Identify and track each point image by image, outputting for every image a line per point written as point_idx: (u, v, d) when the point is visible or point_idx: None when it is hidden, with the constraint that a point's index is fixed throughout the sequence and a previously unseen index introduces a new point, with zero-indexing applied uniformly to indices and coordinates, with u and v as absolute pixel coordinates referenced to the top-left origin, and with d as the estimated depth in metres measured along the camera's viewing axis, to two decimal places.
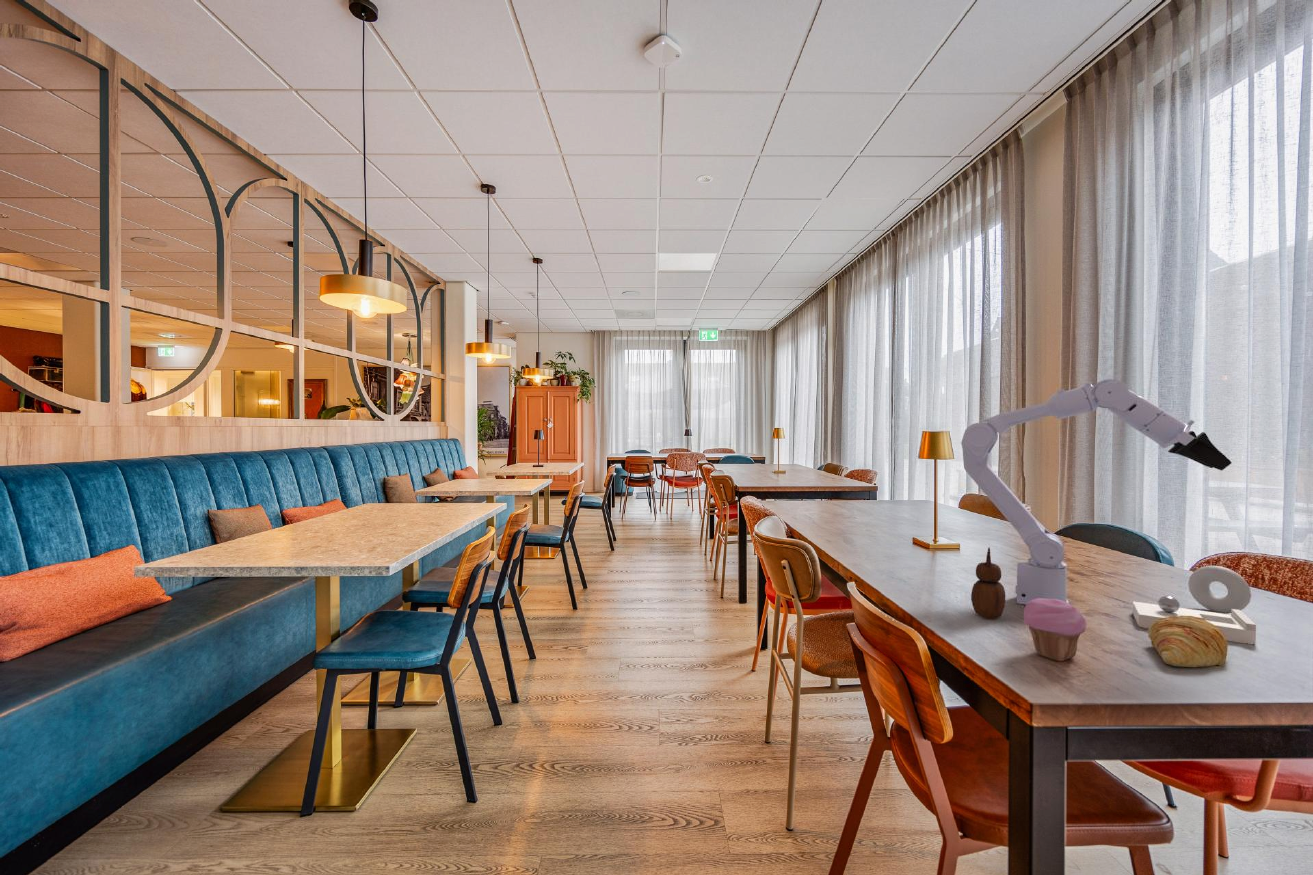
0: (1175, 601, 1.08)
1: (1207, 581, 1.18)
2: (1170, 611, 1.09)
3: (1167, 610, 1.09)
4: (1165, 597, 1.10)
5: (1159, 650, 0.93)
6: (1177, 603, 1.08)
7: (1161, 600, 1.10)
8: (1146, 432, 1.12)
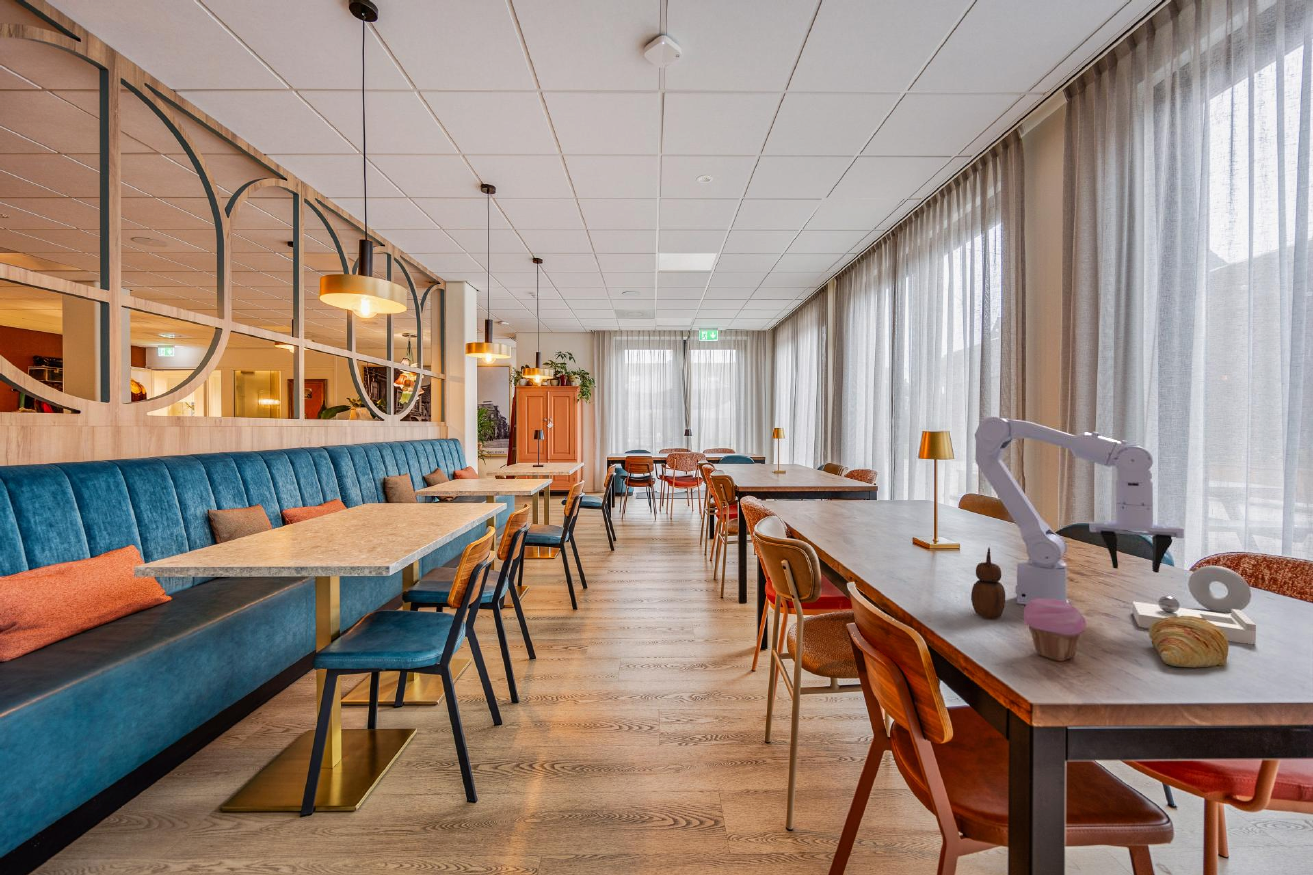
0: (1175, 601, 1.08)
1: (1207, 581, 1.18)
2: (1170, 611, 1.09)
3: (1167, 610, 1.09)
4: (1165, 597, 1.10)
5: (1159, 650, 0.93)
6: (1177, 603, 1.08)
7: (1161, 600, 1.10)
8: None
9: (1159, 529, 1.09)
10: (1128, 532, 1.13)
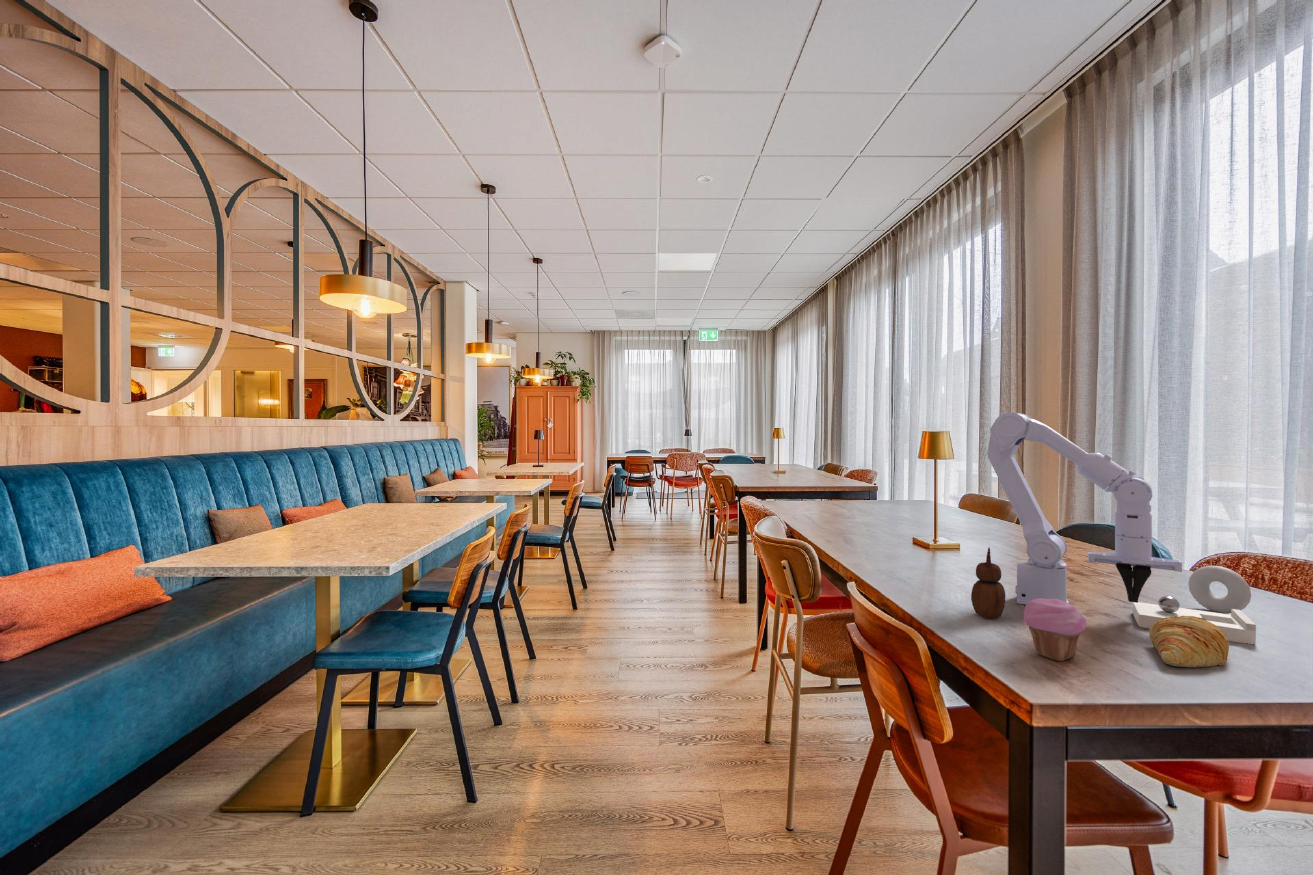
0: (1175, 601, 1.08)
1: (1207, 581, 1.18)
2: (1170, 611, 1.09)
3: (1167, 610, 1.09)
4: (1165, 597, 1.10)
5: (1159, 650, 0.93)
6: (1177, 603, 1.08)
7: (1161, 600, 1.10)
8: None
9: (1157, 562, 1.09)
10: (1126, 564, 1.13)
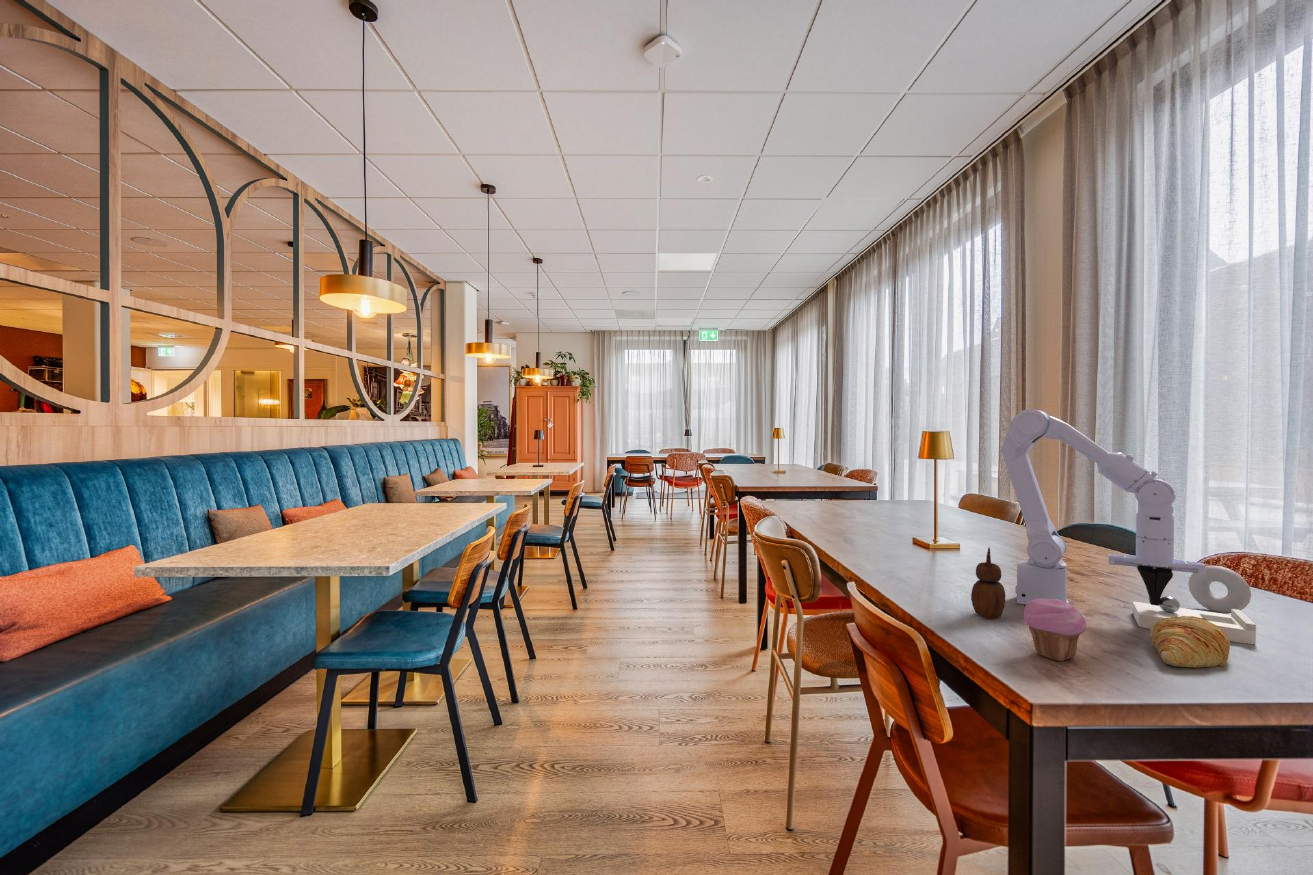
0: (1175, 601, 1.08)
1: (1207, 581, 1.18)
2: (1170, 611, 1.09)
3: (1167, 610, 1.09)
4: (1166, 597, 1.10)
5: (1159, 650, 0.93)
6: (1177, 603, 1.08)
7: (1161, 600, 1.10)
8: None
9: (1180, 565, 1.07)
10: (1148, 566, 1.11)
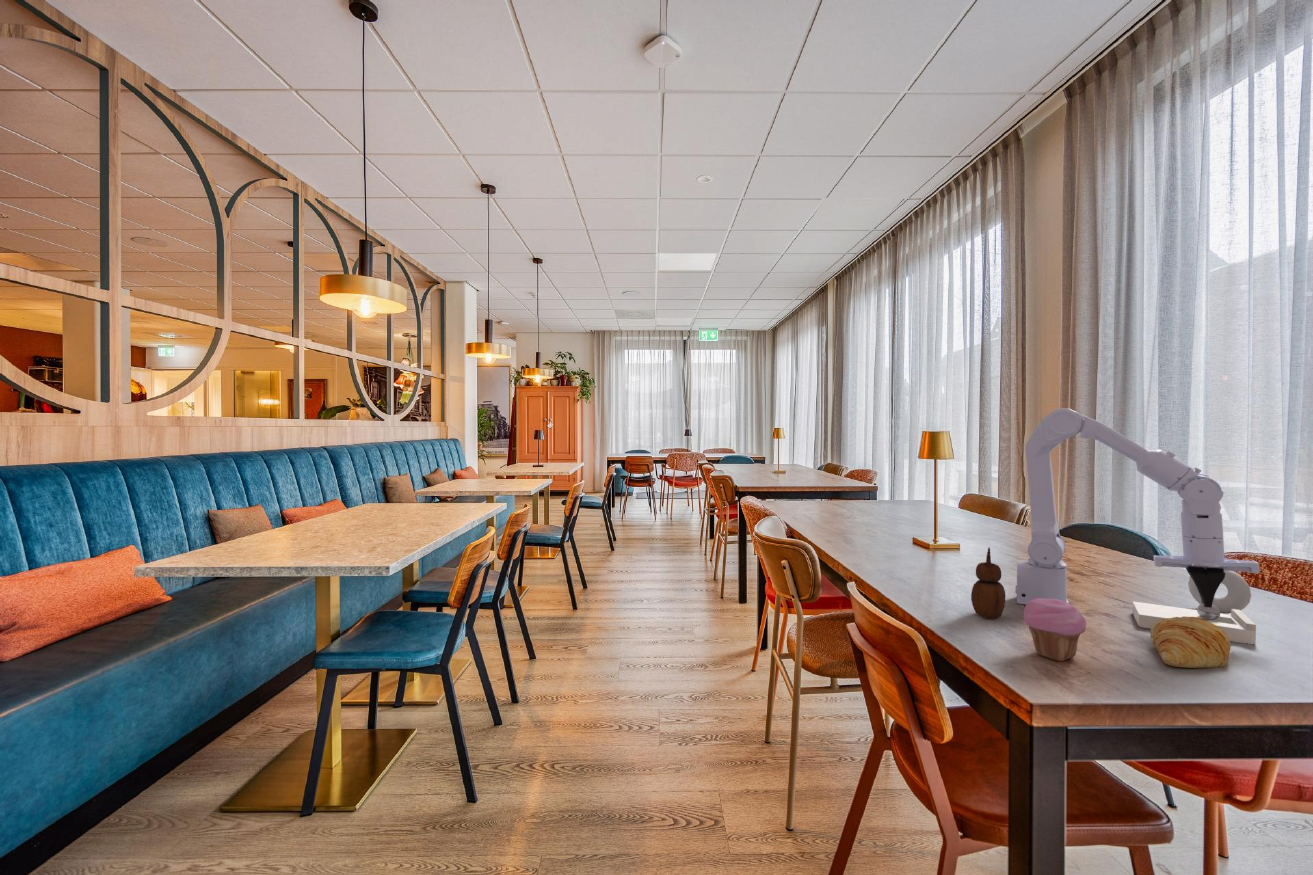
0: (1200, 613, 1.06)
1: None
2: (1213, 607, 1.05)
3: (1215, 610, 1.05)
4: (1207, 619, 1.06)
5: (1159, 650, 0.93)
6: (1200, 611, 1.06)
7: (1213, 619, 1.05)
8: None
9: (1232, 564, 1.03)
10: (1197, 566, 1.07)
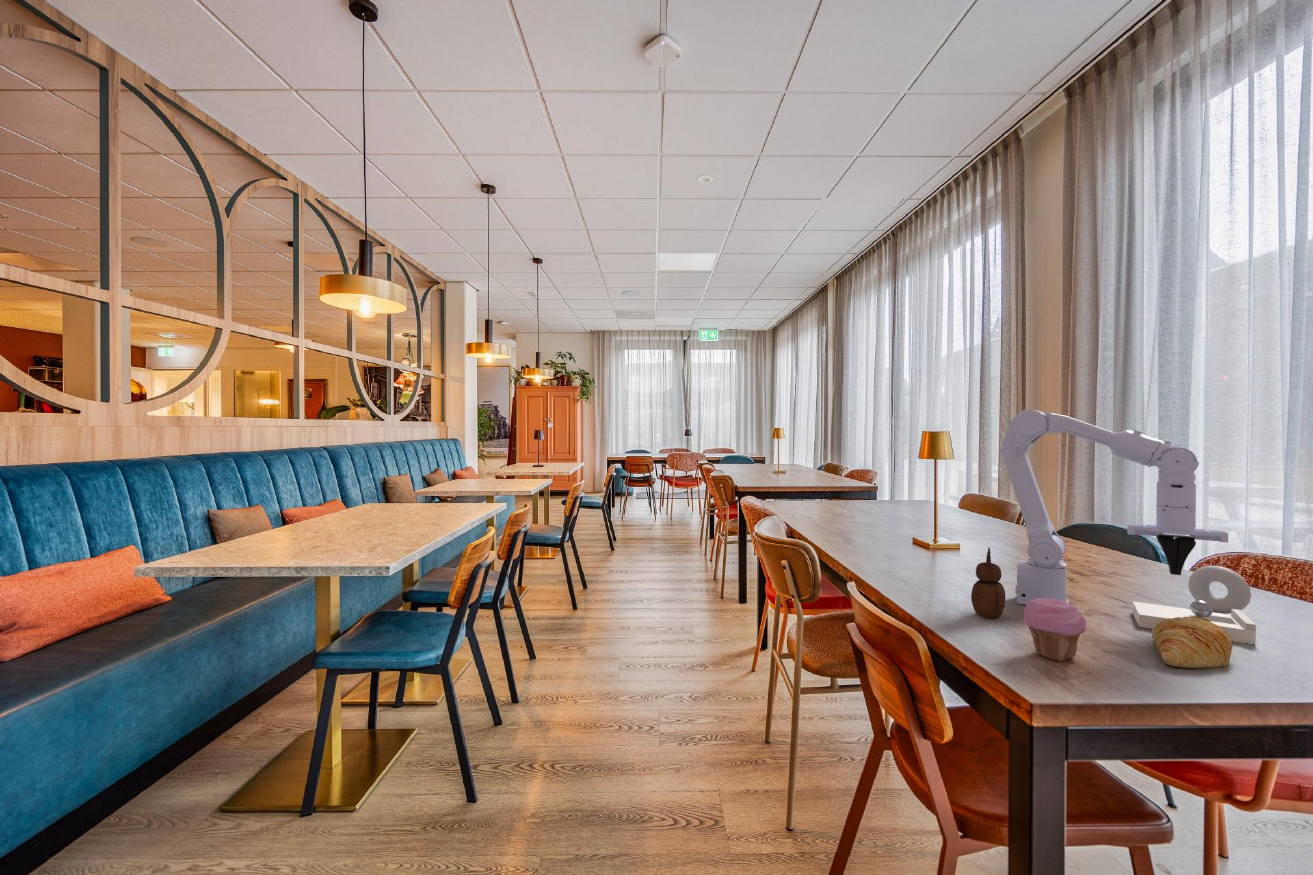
0: (1197, 614, 1.07)
1: (1207, 581, 1.18)
2: (1199, 603, 1.06)
3: (1204, 605, 1.06)
4: (1207, 616, 1.06)
5: (1160, 650, 0.93)
6: (1194, 612, 1.07)
7: (1211, 613, 1.06)
8: None
9: (1202, 533, 1.05)
10: (1169, 535, 1.09)
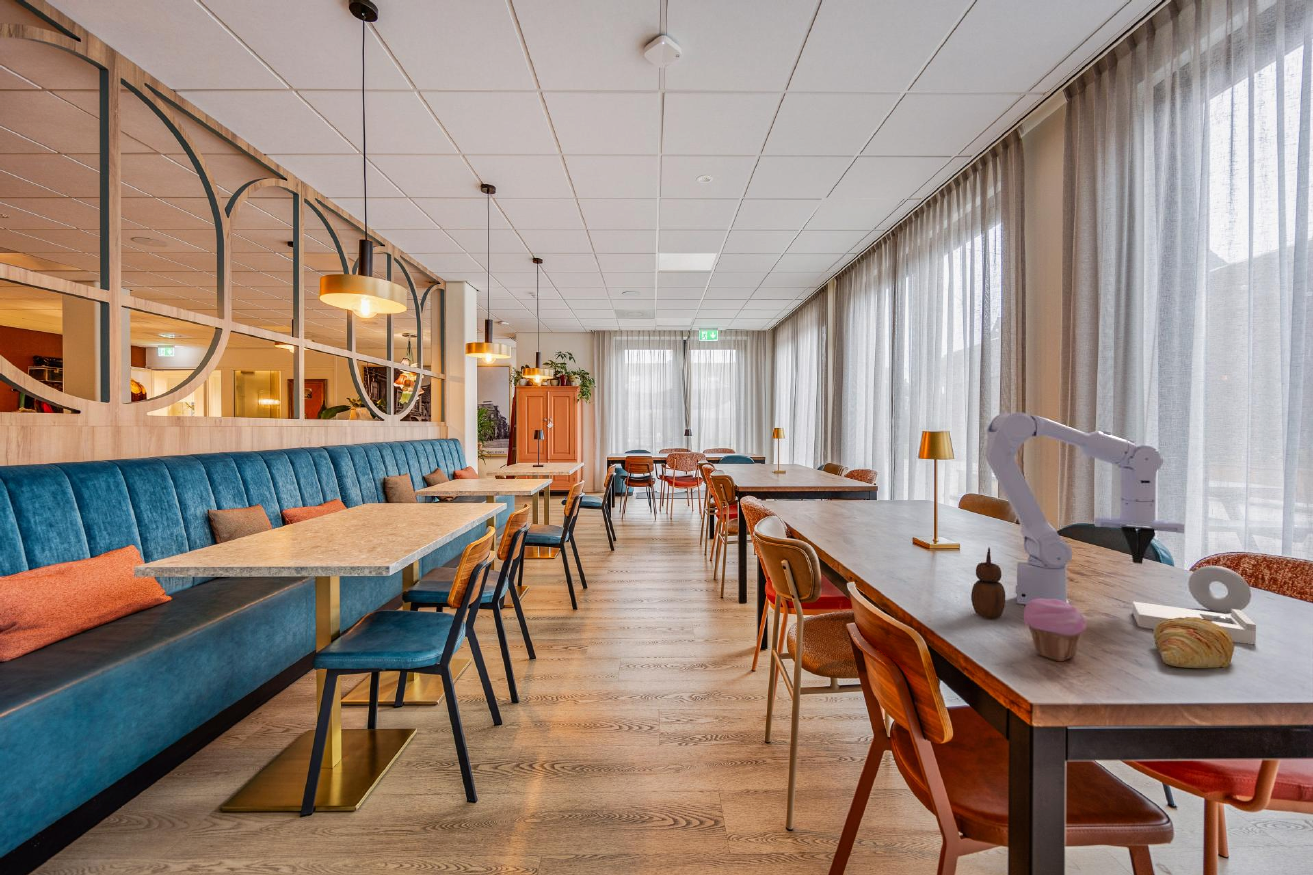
0: (1222, 618, 1.05)
1: (1207, 581, 1.18)
2: None
3: None
4: (1212, 620, 1.06)
5: (1160, 650, 0.93)
6: (1226, 619, 1.04)
7: None
8: None
9: (1161, 524, 1.15)
10: (1131, 527, 1.19)
